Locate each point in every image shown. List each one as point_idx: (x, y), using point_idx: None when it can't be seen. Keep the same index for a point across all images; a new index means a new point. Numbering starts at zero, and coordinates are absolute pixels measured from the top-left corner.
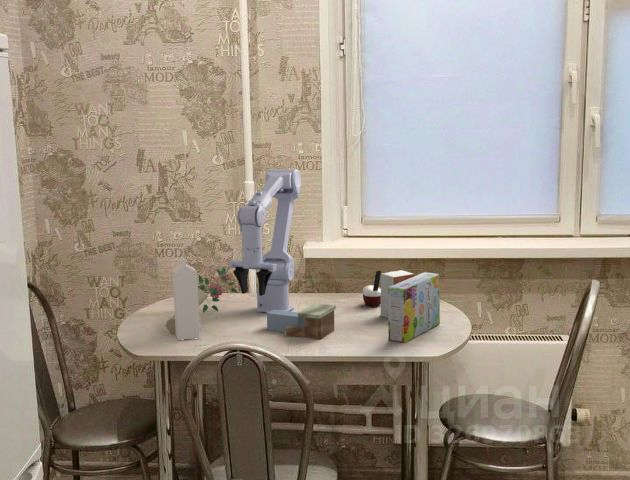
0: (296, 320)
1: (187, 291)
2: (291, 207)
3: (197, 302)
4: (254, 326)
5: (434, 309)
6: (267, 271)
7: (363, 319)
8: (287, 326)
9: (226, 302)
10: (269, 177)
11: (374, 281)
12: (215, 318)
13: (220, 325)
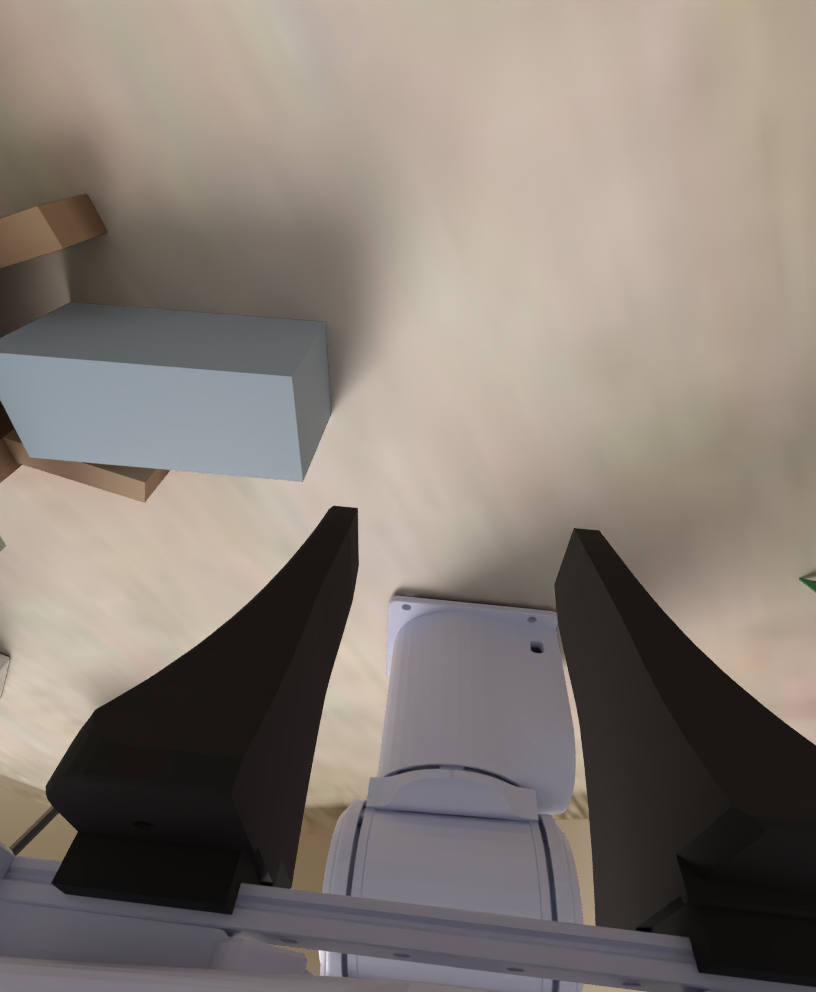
0: (18, 339)
1: None
2: None
3: None
4: (450, 362)
5: None
6: (77, 843)
7: (15, 606)
8: (50, 243)
9: (767, 696)
10: None
11: (34, 833)
12: (805, 455)
13: (736, 303)
